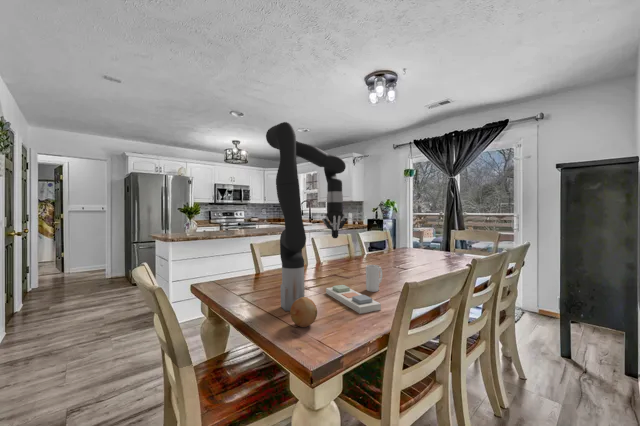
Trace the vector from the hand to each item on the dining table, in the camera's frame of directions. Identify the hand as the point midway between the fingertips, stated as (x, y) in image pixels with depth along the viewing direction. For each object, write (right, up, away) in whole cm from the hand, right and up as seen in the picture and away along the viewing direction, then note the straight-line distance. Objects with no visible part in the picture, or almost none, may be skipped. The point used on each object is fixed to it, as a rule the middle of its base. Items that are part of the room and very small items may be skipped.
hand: (335, 238), depth 140 cm
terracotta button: (+7, -27, -8) cm, 29 cm away
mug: (+21, -27, +9) cm, 35 cm away
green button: (+3, -25, 0) cm, 25 cm away
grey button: (+10, -25, -17) cm, 32 cm away
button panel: (+7, -27, -8) cm, 29 cm away
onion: (-13, -28, -35) cm, 47 cm away
